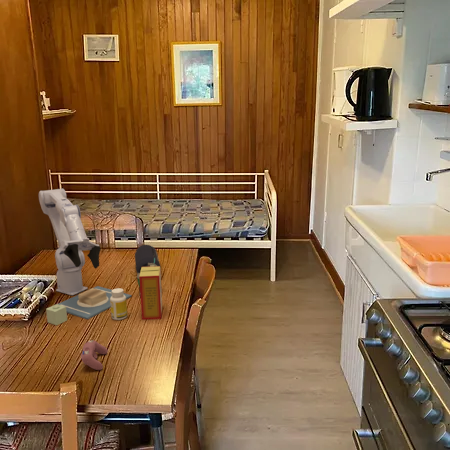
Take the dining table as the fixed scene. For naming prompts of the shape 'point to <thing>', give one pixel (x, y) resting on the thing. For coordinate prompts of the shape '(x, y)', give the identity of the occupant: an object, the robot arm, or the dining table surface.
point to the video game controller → (92, 354)
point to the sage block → (56, 314)
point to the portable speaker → (145, 257)
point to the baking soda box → (151, 292)
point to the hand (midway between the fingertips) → (88, 266)
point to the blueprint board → (88, 309)
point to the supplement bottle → (118, 304)
